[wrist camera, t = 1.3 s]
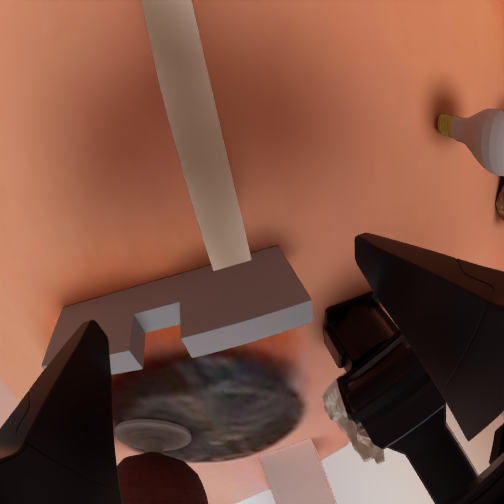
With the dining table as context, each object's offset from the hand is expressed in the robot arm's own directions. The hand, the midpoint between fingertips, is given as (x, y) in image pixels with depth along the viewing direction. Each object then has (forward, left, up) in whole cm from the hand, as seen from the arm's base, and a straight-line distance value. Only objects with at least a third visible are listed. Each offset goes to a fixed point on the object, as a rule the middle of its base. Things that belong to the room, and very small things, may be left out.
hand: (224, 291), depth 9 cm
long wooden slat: (-1, -6, -12) cm, 14 cm away
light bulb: (-23, -1, -12) cm, 26 cm away
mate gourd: (+18, +34, -12) cm, 40 cm away
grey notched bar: (+5, +8, -12) cm, 15 cm away
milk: (-1, +61, -12) cm, 62 cm away
